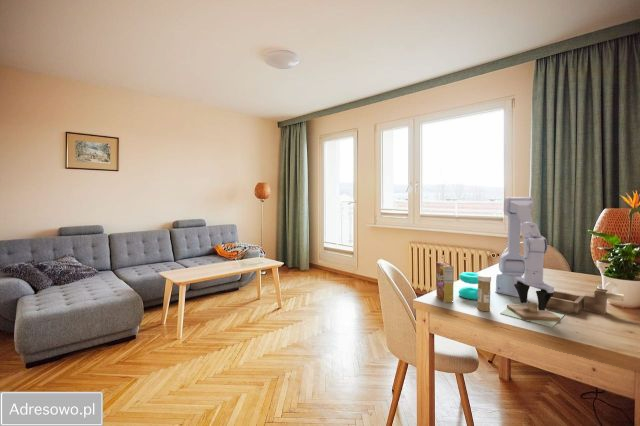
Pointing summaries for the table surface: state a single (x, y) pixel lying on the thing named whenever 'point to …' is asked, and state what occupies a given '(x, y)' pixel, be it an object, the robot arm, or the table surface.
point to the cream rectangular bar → (613, 296)
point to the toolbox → (566, 302)
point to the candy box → (444, 281)
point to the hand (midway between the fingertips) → (532, 306)
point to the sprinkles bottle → (484, 292)
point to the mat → (542, 322)
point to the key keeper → (596, 301)
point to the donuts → (469, 291)
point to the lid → (532, 312)
